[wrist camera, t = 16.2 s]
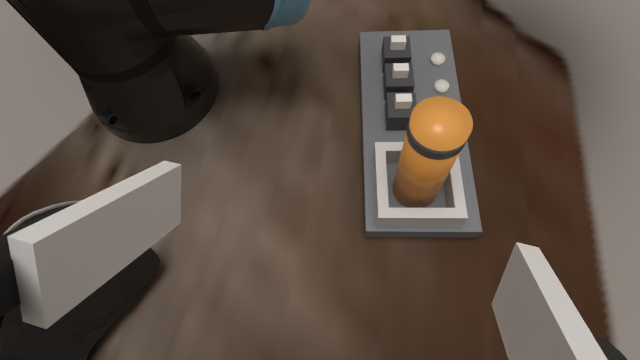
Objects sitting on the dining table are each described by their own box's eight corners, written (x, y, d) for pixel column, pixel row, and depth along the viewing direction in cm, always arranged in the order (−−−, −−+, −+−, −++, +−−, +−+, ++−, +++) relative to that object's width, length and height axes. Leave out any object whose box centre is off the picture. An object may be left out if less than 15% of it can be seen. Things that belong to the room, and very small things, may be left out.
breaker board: (475, 237, 38) (496, 219, 33) (364, 237, 38) (368, 218, 33) (445, 41, 49) (457, 4, 44) (359, 43, 49) (361, 7, 44)
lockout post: (384, 177, 39) (399, 106, 28) (424, 163, 39) (454, 88, 29) (403, 216, 37) (426, 155, 26) (445, 201, 37) (485, 135, 27)
